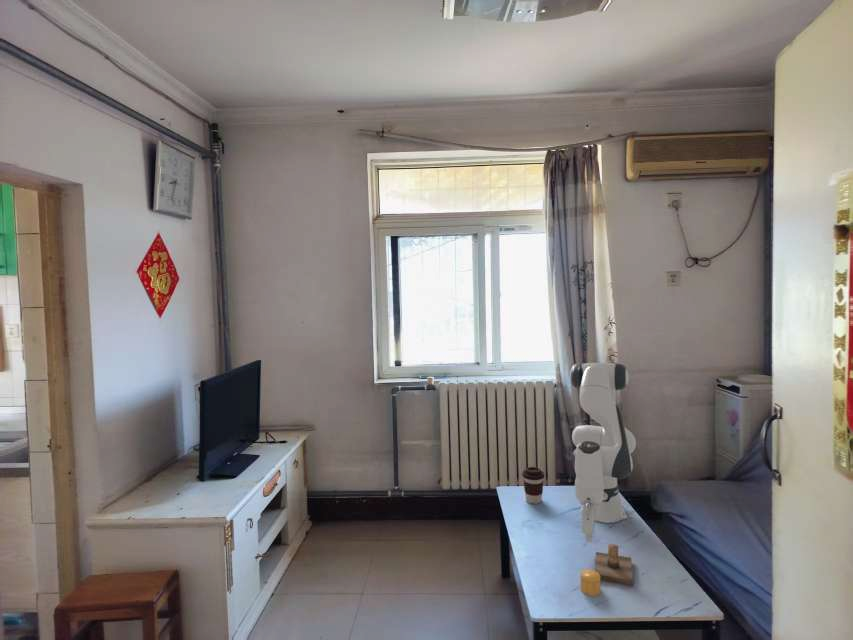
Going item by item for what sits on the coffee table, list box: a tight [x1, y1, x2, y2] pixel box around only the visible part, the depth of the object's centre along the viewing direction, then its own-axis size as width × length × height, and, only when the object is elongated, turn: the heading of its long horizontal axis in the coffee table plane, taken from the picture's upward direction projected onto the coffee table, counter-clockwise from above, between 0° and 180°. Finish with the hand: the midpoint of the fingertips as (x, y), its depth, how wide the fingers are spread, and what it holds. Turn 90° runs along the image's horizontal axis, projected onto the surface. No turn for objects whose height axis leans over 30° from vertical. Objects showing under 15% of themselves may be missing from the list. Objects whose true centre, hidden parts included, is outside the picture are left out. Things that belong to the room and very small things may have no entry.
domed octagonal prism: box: [580, 568, 601, 597], centre depth 158 cm, size 6×6×5 cm
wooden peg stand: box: [594, 543, 634, 587], centre depth 167 cm, size 14×12×9 cm
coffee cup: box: [522, 466, 545, 505], centre depth 222 cm, size 10×10×15 cm
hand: (589, 533), depth 156 cm, fingers open, 8 cm apart
